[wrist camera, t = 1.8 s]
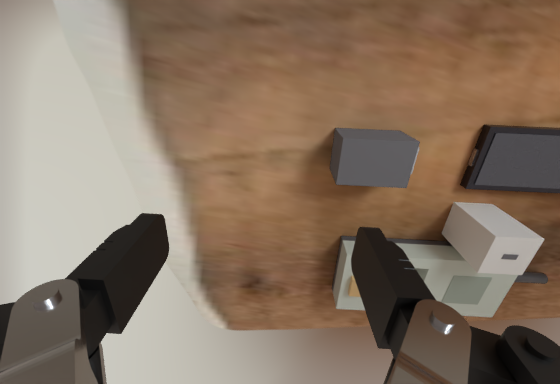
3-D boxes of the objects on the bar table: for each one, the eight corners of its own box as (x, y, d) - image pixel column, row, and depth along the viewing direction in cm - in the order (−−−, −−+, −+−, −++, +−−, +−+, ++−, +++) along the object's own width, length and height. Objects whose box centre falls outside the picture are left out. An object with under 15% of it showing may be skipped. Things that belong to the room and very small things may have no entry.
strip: (554, 247, 28) (591, 271, 25) (521, 297, 32) (549, 324, 28) (341, 236, 29) (348, 258, 25) (331, 287, 32) (337, 313, 29)
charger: (492, 203, 26) (545, 239, 21) (477, 235, 28) (522, 275, 23) (453, 201, 26) (496, 237, 21) (441, 233, 28) (477, 273, 23)
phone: (614, 129, 23) (631, 133, 22) (577, 189, 26) (591, 195, 24) (480, 123, 23) (490, 126, 22) (457, 183, 26) (465, 189, 24)
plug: (408, 130, 23) (430, 142, 20) (397, 171, 25) (415, 188, 22) (334, 127, 23) (343, 138, 20) (329, 167, 25) (336, 184, 22)
